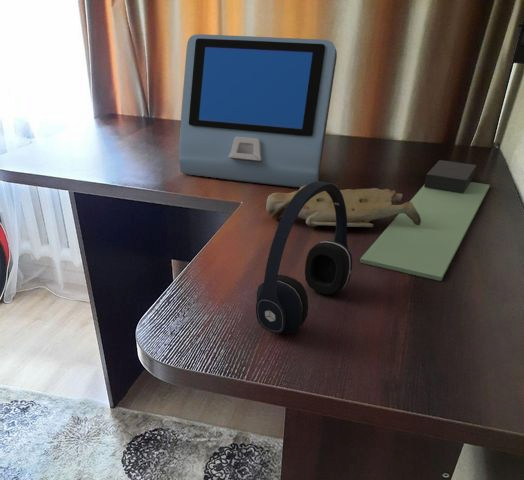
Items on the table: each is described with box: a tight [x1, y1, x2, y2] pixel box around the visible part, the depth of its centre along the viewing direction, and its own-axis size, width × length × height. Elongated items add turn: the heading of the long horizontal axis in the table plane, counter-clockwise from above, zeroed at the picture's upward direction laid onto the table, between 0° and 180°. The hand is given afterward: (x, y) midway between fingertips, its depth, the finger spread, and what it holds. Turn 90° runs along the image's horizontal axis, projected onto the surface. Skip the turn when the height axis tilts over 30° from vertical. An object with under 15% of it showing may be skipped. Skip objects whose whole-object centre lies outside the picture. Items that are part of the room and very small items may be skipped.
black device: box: [423, 159, 477, 193], centre depth 122 cm, size 9×3×14 cm
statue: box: [265, 184, 421, 228], centre depth 100 cm, size 10×7×30 cm
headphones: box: [255, 180, 353, 335], centre depth 70 cm, size 20×7×18 cm, turn 146°
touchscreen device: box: [178, 33, 338, 189], centre depth 121 cm, size 35×20×30 cm, turn 72°
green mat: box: [359, 181, 491, 282], centre depth 105 cm, size 14×55×1 cm, turn 152°
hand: (519, 63), depth 109 cm, fingers closed
